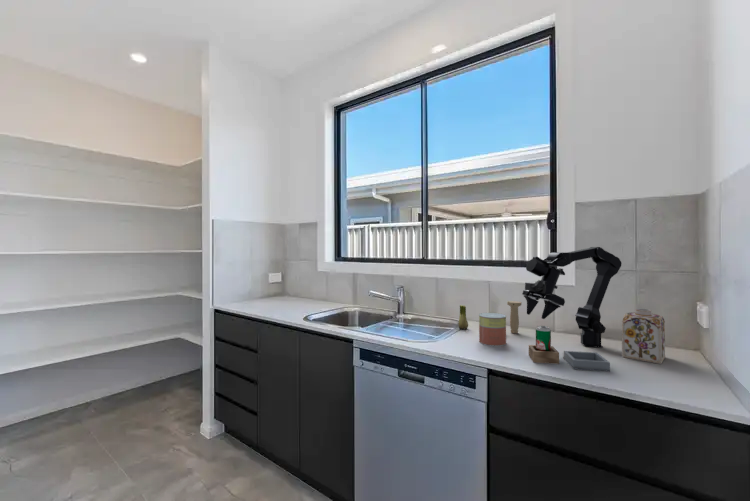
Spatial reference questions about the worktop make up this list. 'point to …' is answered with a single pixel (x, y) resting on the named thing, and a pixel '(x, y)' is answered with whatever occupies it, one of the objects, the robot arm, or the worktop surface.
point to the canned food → (492, 329)
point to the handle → (514, 316)
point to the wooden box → (544, 355)
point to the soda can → (543, 338)
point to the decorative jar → (643, 336)
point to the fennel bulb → (463, 318)
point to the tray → (586, 361)
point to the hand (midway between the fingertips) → (535, 316)
